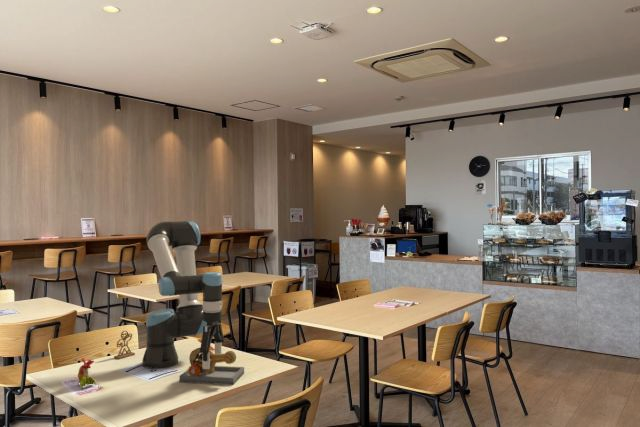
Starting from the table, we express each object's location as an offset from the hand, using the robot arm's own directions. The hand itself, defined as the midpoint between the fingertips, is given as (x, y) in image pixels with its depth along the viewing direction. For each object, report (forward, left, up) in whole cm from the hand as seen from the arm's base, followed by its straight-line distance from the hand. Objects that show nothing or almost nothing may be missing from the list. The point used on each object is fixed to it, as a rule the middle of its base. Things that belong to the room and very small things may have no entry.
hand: (212, 363), depth 197 cm
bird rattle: (-46, -16, -6) cm, 49 cm away
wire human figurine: (-52, +23, -6) cm, 57 cm away
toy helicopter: (+1, -3, -3) cm, 5 cm away
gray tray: (0, 0, -6) cm, 6 cm away
